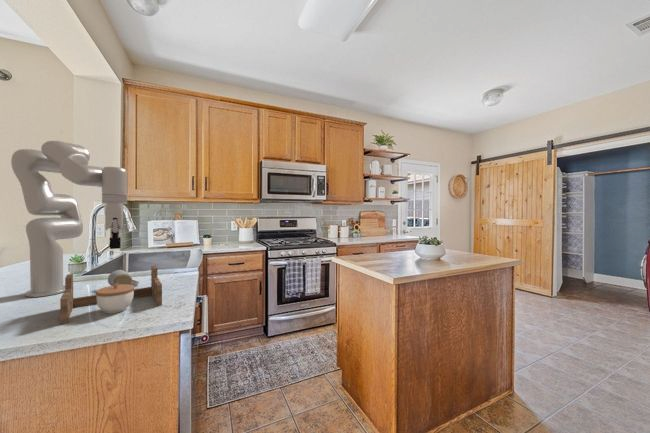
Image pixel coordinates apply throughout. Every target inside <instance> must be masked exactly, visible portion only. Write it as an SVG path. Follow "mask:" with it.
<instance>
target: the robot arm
mask: <svg viewBox="0 0 650 433" xmlns="http://www.w3.org/2000/svg"><path fill="white" fill-rule="evenodd" d="M40 149H41V150H39V149H29V148H22V149H18V150H16V151H14V152H13V153H12V156H11V160H10V163H11V164H10V165H11V168H12V171H13V173H14V175H15V177H16V179H18V180H17V181H18V182H19V184H20V187H21V191H22V195H23V200H24V203H25V207H26V210H27V212H28V213H29V214H30V215H32V216H43V217H38V218H33V219H31V220H30V221H28V222H27V224H26V225H25V233H26V236H27V240H28V244H29V270H30V271H29V272H30V275H29V277H30V284H29V285H30V286H29V287H30V289H29V290H27V291H26V292H24V296H25V297H27V298H39V297H41V298H42V297H46V296H53V295H58V294H63V293H64V291H65V285H64V251H63V248H62V246H61V245H60V244H59V243H58V242H57V240H68V239H75V238H79V237H80V236H82V234H83V230H84V225H83V220H82V215H81V211H80V208H79V204H78V201H77V200H76V198H74V197H73V196H72V195H70V194H65V193H64V194H61V193H55V192H54V191H53V189H52V185H51V183H50V181H49V180H48V179H47V178H46V177H45V176H44V175H43V174H41V173H40V172H47V173H55V174H56V173H57V174H61V175H62V177H63V178H64V179H65V180H68V181H69V182H71V183H72V184H75V185H77V186H78V185H79V186H87V187H98V188H101V204H104V205H105V208H104V212H105V213H104V224H105V225H104V226H105V228H104V229H105V231H109V232H110V233H109V234H110V237H109V249H110V250H115V249H121V245H122V244H121V243H122V242H121V232H120V230H122V229H123V225H124V224H123V223H124V205H128V172H127V170H126V169H125V168H123V167H119V166H118V167H117V166H104V167H100V166H95V165H89V161H90V159H91V158H90V157H91V155H90V152H89V150H88V149H87V148H86V147H84V146H82V145H81V144H75V143H70V142H65V141H59V140H47V141H45V142H44V143H43V144H42V145H41V148H40ZM44 216H60V217H44ZM108 229H110V230H108Z"/></svg>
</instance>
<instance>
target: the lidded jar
mask: <svg viewBox="0 0 650 433" xmlns="http://www.w3.org/2000/svg"><path fill="white" fill-rule="evenodd" d="M134 289H135V285H126V284H125V285H118V284H114V286H111V285H109V286H105V287H101V288H99V289H97V290H96V291H95V295H96V300H97V304H96V305H97V307H98V308H99V309H100V310H101V311H102V312H104V313H105V314H115V313H116V314H117V313H121V312H124V311H126V310H127V308H128V307H129V306H130V305H131V304H132V302H133V300H134V298H135V297H134ZM133 297H134V298H133Z"/></svg>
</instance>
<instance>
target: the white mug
mask: <svg viewBox="0 0 650 433" xmlns="http://www.w3.org/2000/svg"><path fill="white" fill-rule="evenodd" d="M107 282H108V285H109V286H114V284H118V285H125V284H126V285H133V286H134V287H135V286H138V285H139V284H140V283H139V281H137V280H135V279H133V277H132V276H131V274H130V273H128V272H126V271H125V270H123V269H117V270H116V269H115V270H114V271H112V272H111V273H110V274H109V275H108V277H107Z"/></svg>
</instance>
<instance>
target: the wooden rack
mask: <svg viewBox="0 0 650 433" xmlns="http://www.w3.org/2000/svg"><path fill="white" fill-rule="evenodd" d="M150 267H151V268H150V272H151V273H150V280H151V281H150V283H151V284H150V285H151V286H146V287H141V288H134V297H133V299H134V298H139V297H145V296H152V298H153V300H154V303H155V305H156V307H160V306H163V284H162V282H161V280H160V279H159V278H158V266H156V265H151V266H150ZM64 286H65V291H64V292H62V295H61V297H60V299H59V302H60V303H59V304H60V306H59V307H60V312H59V313H60V314H59V315H60V325H65V324H68V322H69V321H70V320H69V319H70V317H71V314H72V311H73V308H79V307H86V306H91V305H98V304H97V300H96V294H93V295H86V296H81V297H80V296H79V297H74V274H73V273H69V274H66V276H65V278H64Z"/></svg>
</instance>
